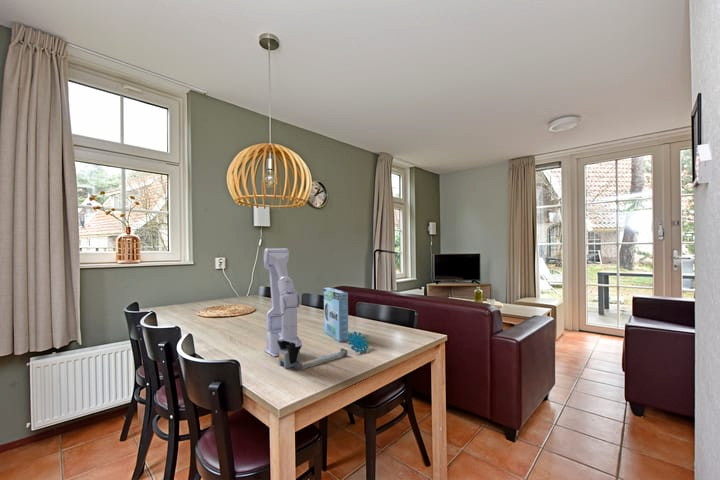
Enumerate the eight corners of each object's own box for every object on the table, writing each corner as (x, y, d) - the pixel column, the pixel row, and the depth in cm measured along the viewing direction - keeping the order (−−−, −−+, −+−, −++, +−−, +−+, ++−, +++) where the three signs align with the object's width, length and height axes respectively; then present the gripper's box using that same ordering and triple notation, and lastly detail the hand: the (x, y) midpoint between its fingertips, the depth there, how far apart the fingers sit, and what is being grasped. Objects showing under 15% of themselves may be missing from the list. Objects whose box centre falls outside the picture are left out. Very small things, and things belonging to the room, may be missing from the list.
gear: (353, 352, 129) (346, 330, 135) (346, 360, 132) (339, 338, 138) (374, 350, 135) (366, 330, 141) (367, 358, 138) (360, 337, 144)
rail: (294, 368, 117) (294, 361, 117) (342, 354, 131) (342, 348, 131) (299, 370, 114) (299, 364, 114) (347, 356, 129) (347, 350, 129)
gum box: (348, 340, 149) (348, 292, 149) (338, 342, 147) (338, 293, 147) (332, 330, 166) (332, 287, 167) (323, 332, 164) (323, 287, 164)
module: (278, 364, 120) (278, 350, 120) (293, 360, 124) (293, 346, 124) (284, 368, 116) (285, 353, 116) (299, 364, 120) (299, 350, 120)
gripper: (271, 323, 123) (271, 358, 123) (289, 330, 112) (289, 369, 112) (287, 320, 128) (287, 353, 128) (306, 327, 117) (306, 364, 117)
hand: (289, 360), depth 120 cm, fingers closed on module, 5 cm apart
